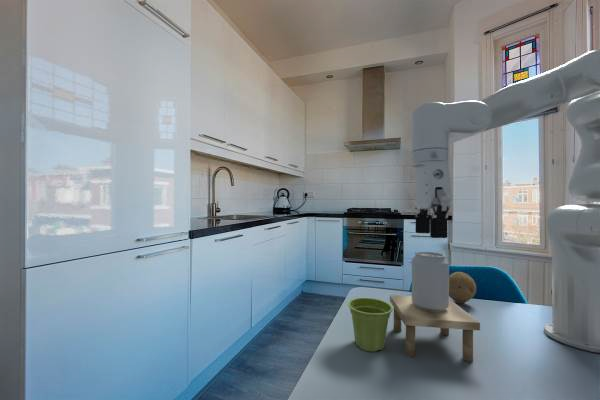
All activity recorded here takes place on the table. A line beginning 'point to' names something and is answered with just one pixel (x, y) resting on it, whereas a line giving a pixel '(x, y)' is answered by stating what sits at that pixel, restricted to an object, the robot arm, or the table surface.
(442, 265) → the can
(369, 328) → the plant pot
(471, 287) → the natural sponge
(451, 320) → the stool
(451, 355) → the table surface
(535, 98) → the robot arm
